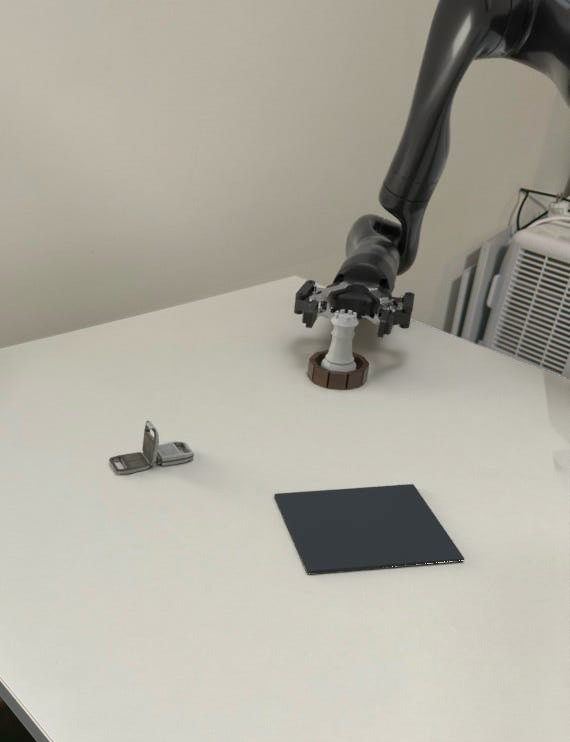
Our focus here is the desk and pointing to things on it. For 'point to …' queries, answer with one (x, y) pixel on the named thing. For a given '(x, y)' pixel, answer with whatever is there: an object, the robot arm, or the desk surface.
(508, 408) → the desk surface
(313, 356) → the brown segmented bracelet
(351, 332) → the rook chess piece
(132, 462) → the strap clip
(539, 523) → the desk surface
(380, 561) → the mat
